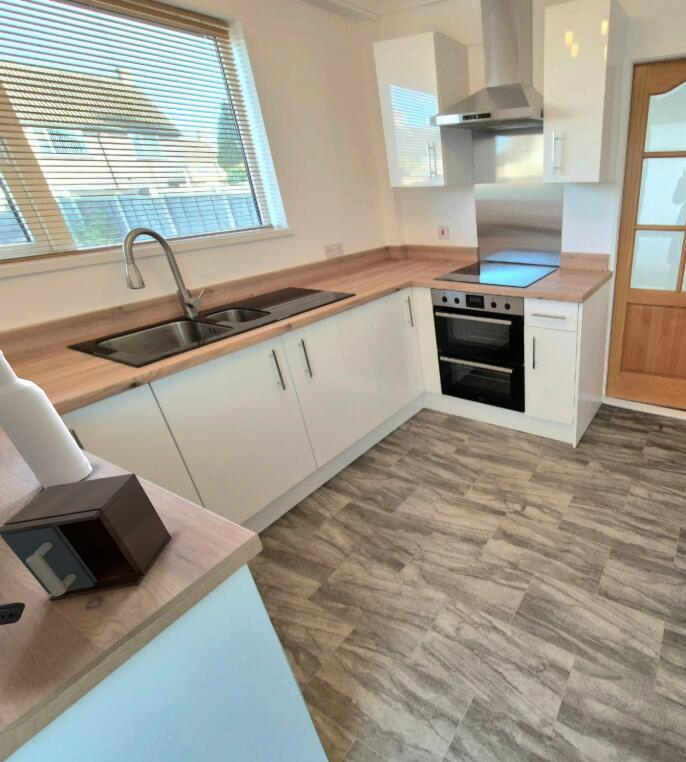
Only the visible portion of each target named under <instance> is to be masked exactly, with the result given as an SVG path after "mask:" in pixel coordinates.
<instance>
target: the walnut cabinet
mask: <svg viewBox="0 0 686 762" xmlns="http://www.w3.org/2000/svg"><path fill="white" fill-rule="evenodd" d="M51 526H53V528H54V529H55V530H56V532H57V533H58V534H59V536H60V537H61V538H62V540H63V541H64V542H65V544H66V545H67V547H68V548H69V549H70V551H71V552H72V553H73V555H74V556H75V557H76V559H77V560H78V561H79V563H80V564H81V566H82V567H83V568H84V570H85V571H86V572H87V574H88V575H89V576H90V578H91V579H92V580H93V582H94V583H95V585H94V586H93V587H87V588H82V589H76V590H71V591H66V592H65V593H63V594H62V595H60V596H53V594H50V596H49V597H48V601H49V602H54V601H60V600H65V599H70V598H71V599H72V598H76V597H81V596H87V595H92V594H98V593H103V592H107V591H108V592H109V591H113V590H120V589H124V588H129V587H130V588H131V587H134V586H139V585H140V584H141V583H142V581H143V580H144V577H146V576H147V574H148V573H149V571H150V570H151V568H152V567H153V566H154V564H155V563H156V562H157V560H158V558H159V557H160V555H161V554H162V553H163V551H164V550H165V548H166V547H167V545H168V544H169V543H170V540H171V539H172V536H171V534H170V533H169V531H168V529H167V528H166V525H165V524H164V522H163V520H162V519H161V517H160V515H159V514H158V512H157V510H156V508H155V506H154V505H153V503H152V501H151V500H150V498H149V496H148V494H147V492H146V491H145V489H144V487H143V486H142V484H141V482H140V481H139V479H138V477H137V475H136V473H134V472H133V473H126V474H120V475H113V476H106V477H100V478H93V479H86V480H81V481H79V482H74V483H67V484H61V485H54V486H49V487H47V488H46V489H45V488H44V490H42V491H41V492H40V493H39V494H38V495H37V496H35V497H34V498H33V499H31V500H30V501H29V502H28V503H27V504H26V505H24V506H23V507H22V508H21V509H20V510H19V511H17V512H16V513H15V514H14V515H13V516H11V517H10V518H9V519H8V520H6V521H5V522H4V523H3V525H0V536H1V535H3V534H9V533H15V532H21V531H27V530H33V529H39V528H45V527H51Z"/></svg>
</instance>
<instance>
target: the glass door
mask: <svg viewBox="0 0 686 762" xmlns="http://www.w3.org/2000/svg"><path fill="white" fill-rule="evenodd" d="M0 537H1V539H2V540H4V542H5V544H6V545H7V546H8V547H9V548H10V549H11V551H12V552H13V553H14V555H16V557H17V558H18V559H19V561H20V562H21V563H22V564H23V566H24V567H25V568H26V569H27V570H28V572H29V573H30V574H31V575H32V576H33V578H34V579H35V581H37V582H38V584H39V585H40V586H41V587H42V588H43V590H44V591H45V592H46V593H47V595H48V596H49V595H50V596H51V595H52V594H53V596H60V595H62V594H63V593H65V592H66V591H71V590H76V589H82V588H87V587H93V586H94V585H95V583H94V582H93V580H92V579H91V578H90V576H89V575H88V574H87V572H86V571H85V570H84V568H83V567H82V566H81V564H80V563H79V561H78V560H77V559H76V557H75V556H74V555H73V553H72V552H71V551H70V549H69V548H68V547H67V545H66V544H65V542H64V541H63V540H62V538H61V537H60V536H59V534H58V533H57V532H56V530H55V529H54V528H53V526H51V527H45V528H39V529H33V530H27V531H21V532H15V533H9V534H3V535H0Z"/></svg>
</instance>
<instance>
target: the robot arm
mask: <svg viewBox="0 0 686 762" xmlns="http://www.w3.org/2000/svg"><path fill="white" fill-rule="evenodd" d="M25 609H26V604H25V603H24V602H19V601H18V602H17V601H16V602H10V603H3V604H0V626H5V625H12V624H16V623H18V622H19V621H20V619H21V618H22V616H23V613H24V610H25Z"/></svg>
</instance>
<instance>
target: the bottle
mask: <svg viewBox="0 0 686 762" xmlns="http://www.w3.org/2000/svg"><path fill="white" fill-rule="evenodd" d="M0 429H2V431H3V432H4V434H5V435H6V436H7V438H8V439H9V441H10V442H11V444H12V445H13V446H14V448H15V449H16V451H17V452H18V453H19V455H20V456H21V458H22V459H23V460H24V462H25V464H26V465H27V466H28V468H29V469H30V470H31V472H32V473H33V474H34V476H35V478H36V480H37V482H38V483H39V484H40V485H41V486H42V487H43V489H44V490H45V489H46V488H47V487H49V486H54V485H61V484H67V483H74V482H80V481H83V480H84V479H85V478H87V477H88V476H89V475H90V474H91V473H92V471H93V467H92V466H91V463H90V461H89V460H88V458H87V457H86V456H85V455H84V453H83V451H82V450H81V448H80V447H79V444H77V442H76V440H75V439H74V437H73V435H72V434H71V433H70V431H69V429H68V428H67V426H66V425H65V423H64V421H63V420H62V418H61V416H60V415H59V413H58V412H57V410H56V409H55V407H54V405H53V404H52V402H51V401H50V398H48V396H47V394H46V393H45V391H44V390H43V389H42V388H41V387H40V386H38V385H37V384H36V383H34V382H33V381H31V380H26V379H23V378H19V377H18V376H17V375H16V373H15V372H14V370H13V369H12V367H11V365H10V364H9V362H8V361H7V359H6V358H5V356H4V352H3V351H2V350H1V349H0Z"/></svg>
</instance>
